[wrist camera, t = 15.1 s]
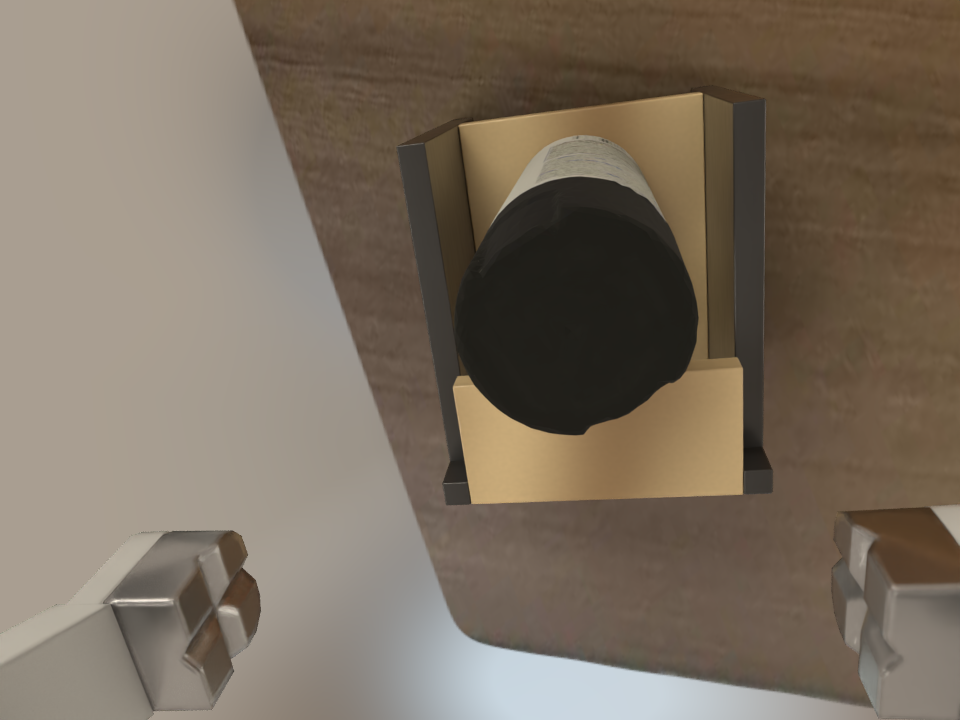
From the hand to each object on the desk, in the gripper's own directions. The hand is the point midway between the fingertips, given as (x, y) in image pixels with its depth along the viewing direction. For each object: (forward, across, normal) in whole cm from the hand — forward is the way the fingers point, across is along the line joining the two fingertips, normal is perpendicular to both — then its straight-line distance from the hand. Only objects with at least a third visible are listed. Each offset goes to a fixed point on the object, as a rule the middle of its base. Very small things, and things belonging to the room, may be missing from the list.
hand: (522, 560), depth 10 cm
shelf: (+35, -1, +4) cm, 35 cm away
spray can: (+30, -1, +1) cm, 30 cm away
